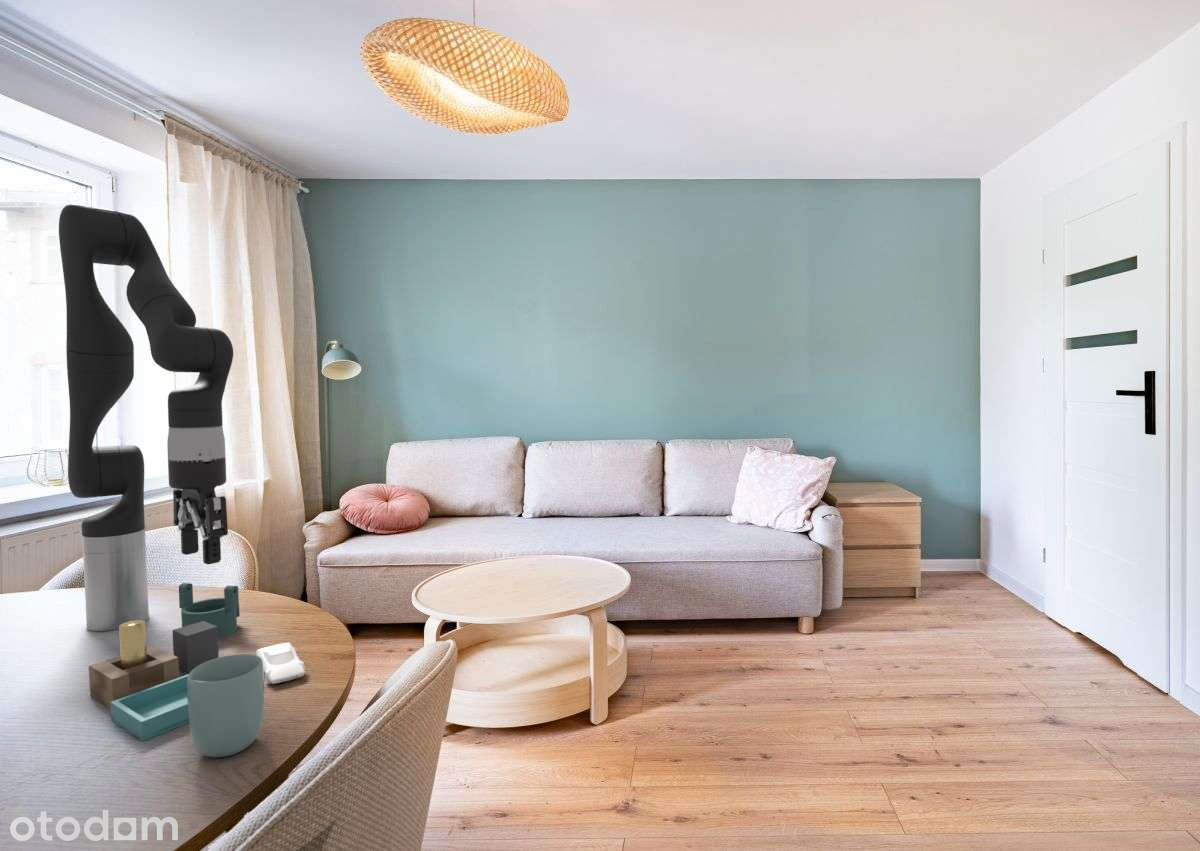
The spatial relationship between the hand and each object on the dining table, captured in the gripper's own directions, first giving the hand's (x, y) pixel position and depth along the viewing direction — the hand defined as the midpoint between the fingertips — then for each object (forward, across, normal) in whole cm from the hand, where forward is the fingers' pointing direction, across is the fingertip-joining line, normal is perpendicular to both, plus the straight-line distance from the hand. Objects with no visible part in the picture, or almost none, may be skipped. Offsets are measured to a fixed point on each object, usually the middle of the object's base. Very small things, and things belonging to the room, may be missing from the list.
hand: (200, 558), depth 96 cm
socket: (+17, +2, -10) cm, 20 cm away
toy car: (+18, +12, +6) cm, 22 cm away
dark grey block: (+17, -1, -1) cm, 17 cm away
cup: (+17, +28, -8) cm, 34 cm away
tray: (+17, +13, -8) cm, 23 cm away
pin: (+17, +2, -10) cm, 20 cm away
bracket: (+18, -13, +6) cm, 23 cm away
